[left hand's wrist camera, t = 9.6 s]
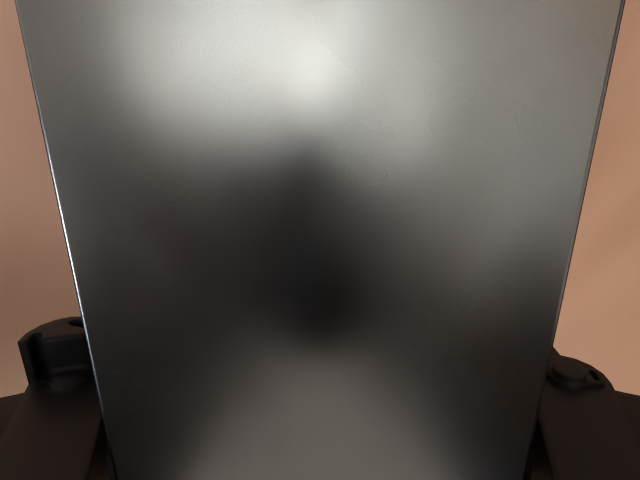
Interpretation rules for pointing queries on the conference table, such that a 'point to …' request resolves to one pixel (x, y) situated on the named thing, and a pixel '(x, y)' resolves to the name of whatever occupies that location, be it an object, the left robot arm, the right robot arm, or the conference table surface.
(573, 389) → the left robot arm
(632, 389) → the conference table surface
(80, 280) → the bar
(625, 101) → the conference table surface
